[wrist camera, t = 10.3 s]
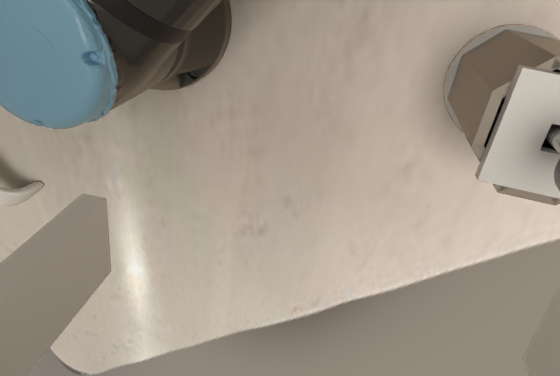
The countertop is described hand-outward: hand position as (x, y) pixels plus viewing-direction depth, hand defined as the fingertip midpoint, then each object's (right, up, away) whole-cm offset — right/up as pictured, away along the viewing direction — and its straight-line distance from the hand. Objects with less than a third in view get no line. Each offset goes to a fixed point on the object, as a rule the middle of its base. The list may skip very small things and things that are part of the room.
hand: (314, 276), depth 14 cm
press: (+23, +12, +33) cm, 42 cm away
